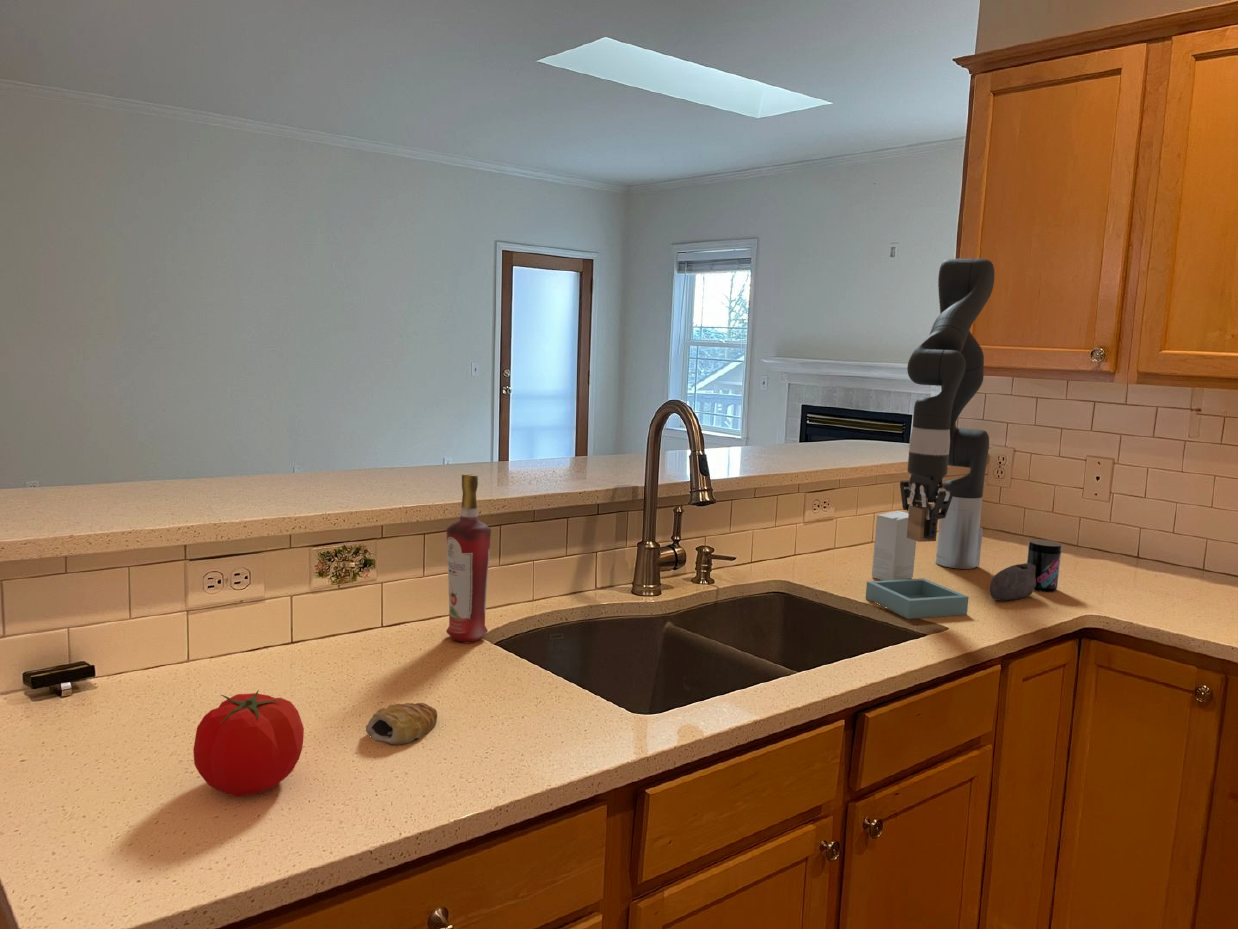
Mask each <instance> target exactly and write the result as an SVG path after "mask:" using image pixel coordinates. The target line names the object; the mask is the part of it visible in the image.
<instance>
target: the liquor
mask: <svg viewBox="0 0 1238 929" xmlns="http://www.w3.org/2000/svg"><path fill="white" fill-rule="evenodd" d="M478 486H479V475H478V474H477V473H464V474H461V489H462V490H461V491H462V495H461V496H462V498H461V506H460V516H459V520H458V521H455V522H453V523H452V524H450V525H449V526H448V527H447V528H446V556H447V558H446V559H447V560H446V561H447V576H448V578H447V581H448V616H449V617H448V621H449V622H448V627H447V629H446V634H448V635H449V637H451V638H452V639H453V640H454V641H455V640H456V642H458V641H459V642H458V643H463V642H470V643H474V642H475V641H476V642H478V641H480V640H481V639H482V638H483V637H484V636H485V635H486V634H487V633H488V628H487V626H486V613H487V612H486V608H487V607H486V606H487V593H488V592H487V590H488V588H487V587H488V579H489V578H488V577H489V576H488V575H489V568H490V567H489V564H490V552H491V550H490V549H491V538H492V537H491V536H492V535H491V534H492V533H491V532H492V528H490V527H489V526H488V525H487V524H486V523H484V522H482V521H480V520H479V518H478V517H479V515H478V502H477V501H478V500H477V491H478Z"/></svg>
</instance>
